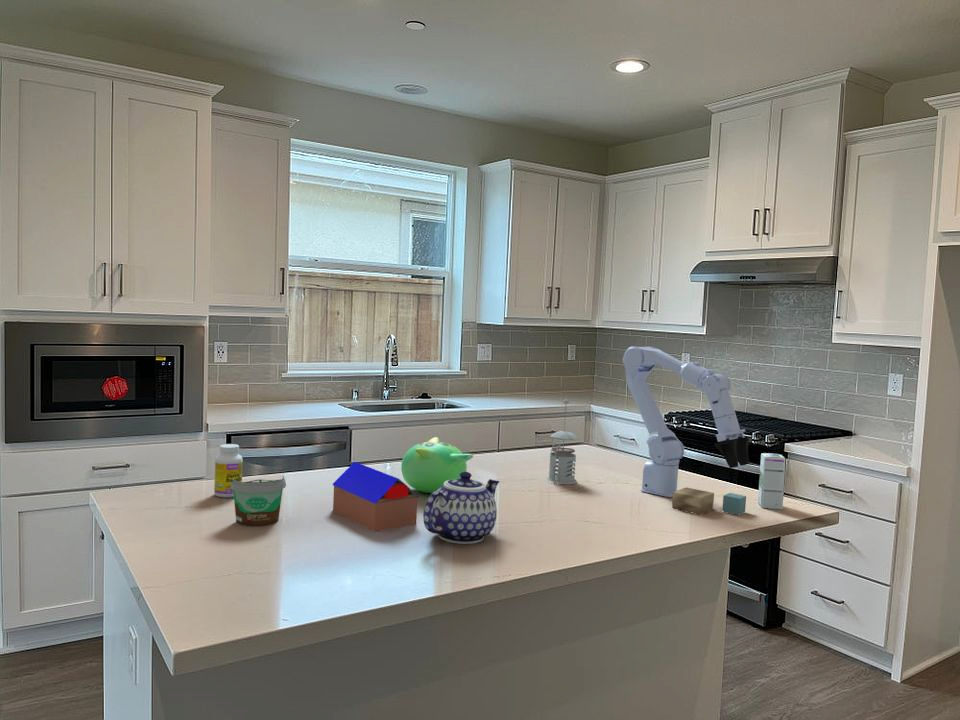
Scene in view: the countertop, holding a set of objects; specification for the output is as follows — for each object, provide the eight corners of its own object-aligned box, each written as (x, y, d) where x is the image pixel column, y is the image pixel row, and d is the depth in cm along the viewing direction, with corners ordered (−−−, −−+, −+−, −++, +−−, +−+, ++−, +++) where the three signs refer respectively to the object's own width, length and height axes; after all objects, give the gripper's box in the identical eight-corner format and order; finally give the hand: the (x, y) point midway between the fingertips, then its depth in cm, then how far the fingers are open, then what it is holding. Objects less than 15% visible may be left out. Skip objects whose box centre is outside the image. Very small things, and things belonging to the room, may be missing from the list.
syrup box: (783, 510, 199) (787, 457, 198) (760, 508, 200) (764, 456, 199) (778, 504, 204) (782, 454, 203) (756, 502, 205) (760, 452, 204)
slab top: (672, 501, 195) (672, 492, 195) (685, 496, 201) (686, 487, 201) (700, 507, 189) (701, 497, 189) (713, 502, 195) (714, 492, 195)
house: (373, 504, 185) (375, 459, 184) (418, 524, 170) (420, 475, 169) (331, 511, 177) (332, 464, 176) (374, 533, 162) (376, 481, 161)
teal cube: (722, 512, 194) (723, 495, 194) (728, 509, 197) (729, 492, 197) (739, 515, 191) (740, 498, 191) (745, 512, 195) (746, 496, 194)
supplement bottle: (224, 499, 182) (225, 449, 181) (208, 494, 186) (210, 445, 185) (247, 495, 187) (248, 446, 186) (231, 490, 191) (233, 442, 190)
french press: (583, 481, 222) (587, 399, 220) (566, 487, 212) (571, 403, 210) (554, 475, 227) (558, 396, 225) (536, 482, 217) (541, 399, 216)
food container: (233, 530, 158) (234, 485, 157) (229, 522, 164) (230, 478, 163) (290, 525, 164) (291, 481, 163) (284, 517, 169) (285, 475, 169)
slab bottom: (671, 510, 195) (672, 501, 195) (684, 505, 201) (685, 496, 201) (700, 516, 190) (701, 507, 189) (712, 511, 196) (713, 502, 196)
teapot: (447, 559, 147) (450, 487, 146) (397, 541, 157) (400, 473, 156) (522, 533, 166) (526, 469, 165) (474, 518, 176) (476, 458, 175)
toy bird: (456, 483, 210) (458, 433, 209) (474, 499, 194) (476, 444, 193) (395, 485, 205) (397, 434, 204) (408, 501, 189) (410, 445, 188)
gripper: (729, 413, 189) (744, 465, 186) (748, 412, 200) (763, 460, 197) (703, 420, 193) (718, 470, 190) (724, 418, 204) (738, 466, 201)
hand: (739, 466), depth 194 cm, fingers open, 7 cm apart
